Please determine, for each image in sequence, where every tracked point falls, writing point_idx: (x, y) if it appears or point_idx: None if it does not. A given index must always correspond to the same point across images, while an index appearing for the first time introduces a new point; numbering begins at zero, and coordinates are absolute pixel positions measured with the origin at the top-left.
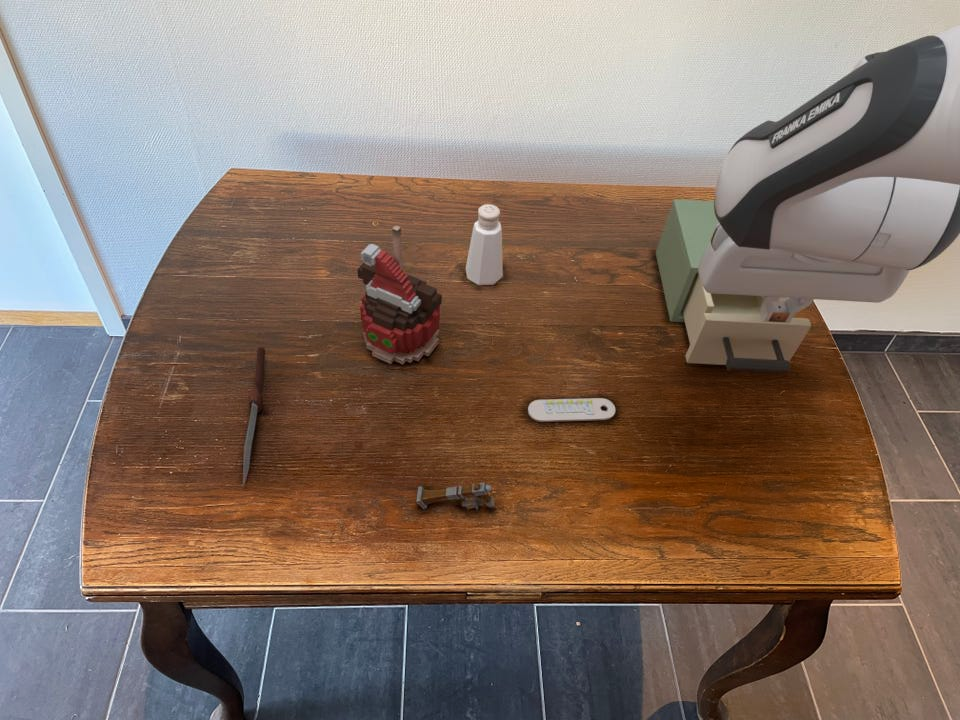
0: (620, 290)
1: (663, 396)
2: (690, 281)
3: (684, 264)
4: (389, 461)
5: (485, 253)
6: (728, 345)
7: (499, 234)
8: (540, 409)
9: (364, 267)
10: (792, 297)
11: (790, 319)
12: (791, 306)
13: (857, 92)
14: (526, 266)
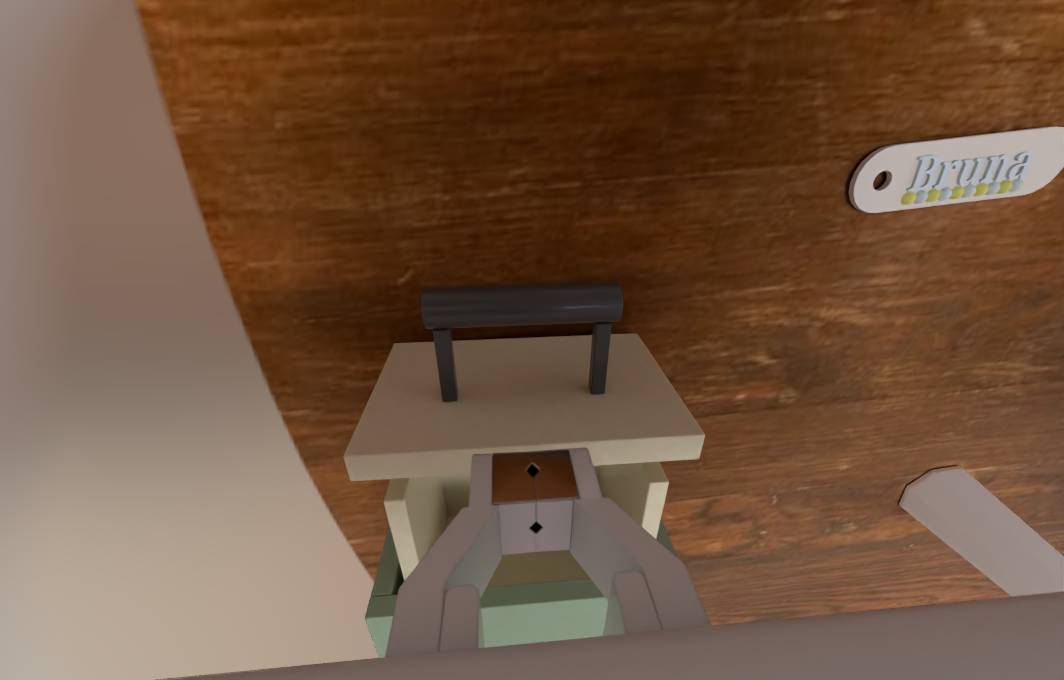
0: (700, 488)
1: (709, 237)
2: (659, 541)
3: None
4: None
5: (1031, 535)
6: (600, 366)
7: (1040, 586)
8: (1037, 164)
9: None
10: (578, 648)
11: (473, 470)
12: (489, 542)
13: None
14: (850, 511)
